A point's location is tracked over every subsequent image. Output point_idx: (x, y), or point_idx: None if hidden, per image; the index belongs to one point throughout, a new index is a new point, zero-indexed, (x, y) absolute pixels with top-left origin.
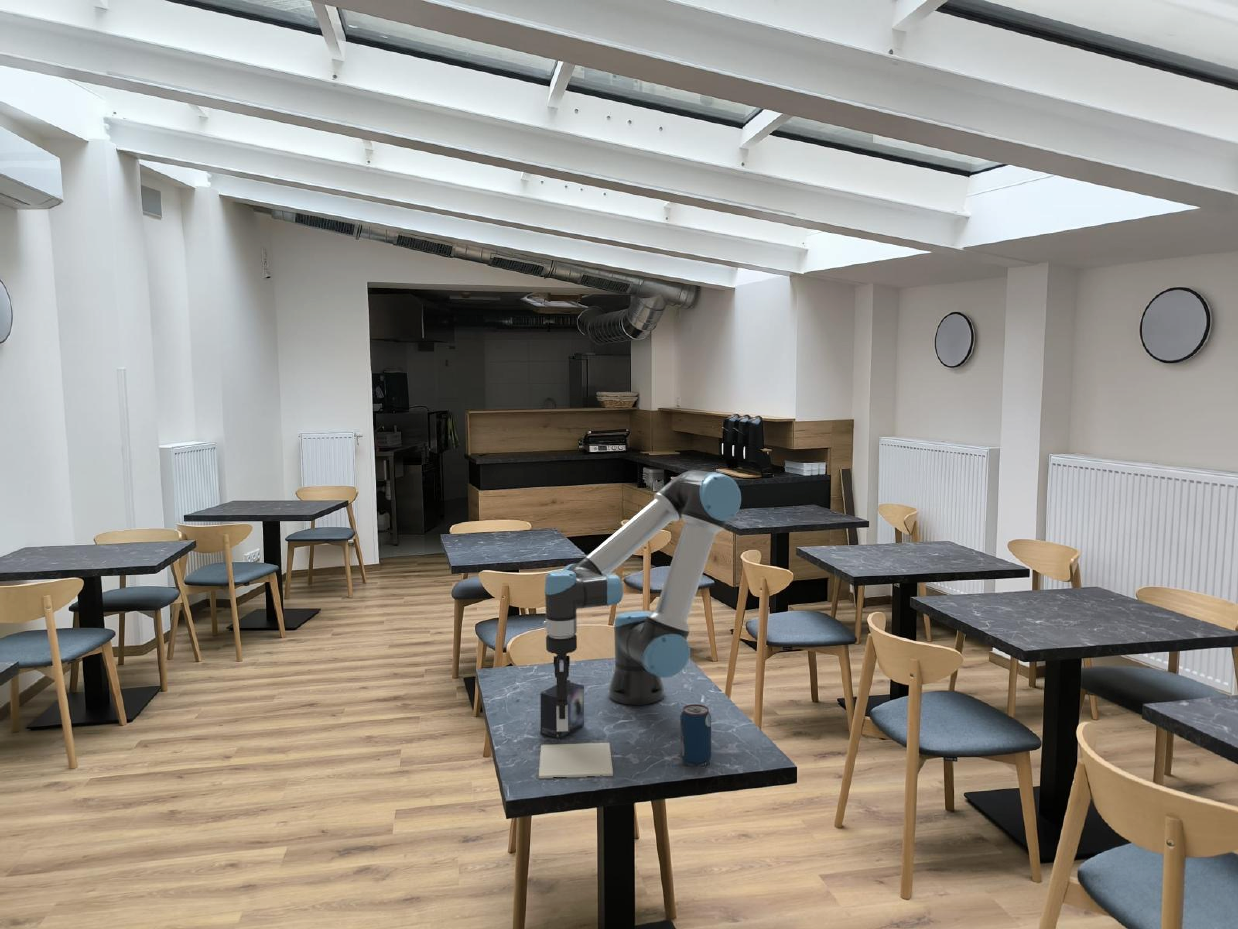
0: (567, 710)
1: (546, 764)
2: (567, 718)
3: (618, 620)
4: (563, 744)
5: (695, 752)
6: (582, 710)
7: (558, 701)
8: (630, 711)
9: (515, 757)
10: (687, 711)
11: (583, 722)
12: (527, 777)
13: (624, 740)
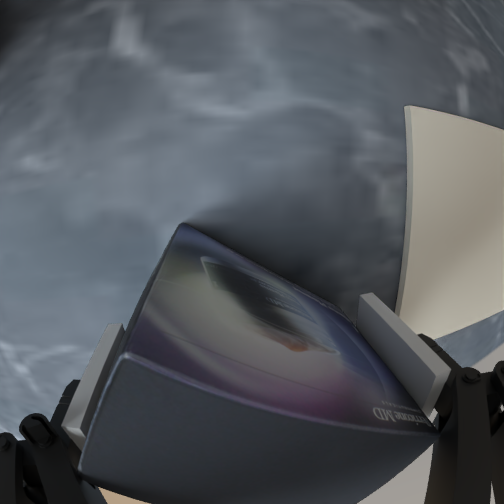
0: (431, 349)
1: (486, 305)
2: (404, 325)
3: None
4: (406, 287)
5: None
6: (195, 254)
7: (500, 409)
8: (33, 38)
9: None
10: None
11: (187, 228)
12: (495, 326)
13: (358, 40)
